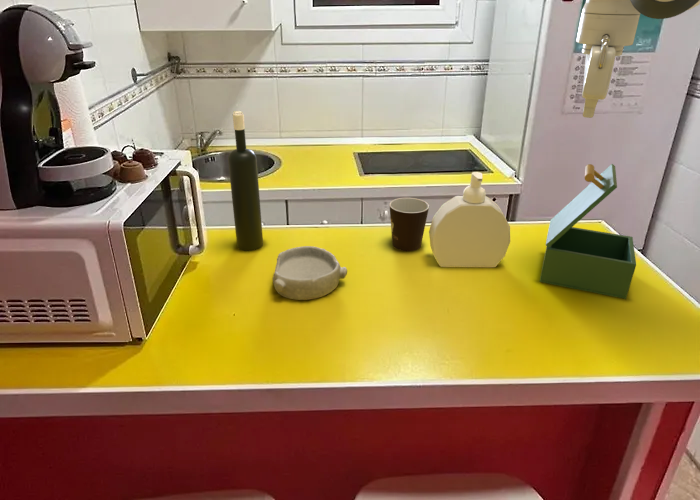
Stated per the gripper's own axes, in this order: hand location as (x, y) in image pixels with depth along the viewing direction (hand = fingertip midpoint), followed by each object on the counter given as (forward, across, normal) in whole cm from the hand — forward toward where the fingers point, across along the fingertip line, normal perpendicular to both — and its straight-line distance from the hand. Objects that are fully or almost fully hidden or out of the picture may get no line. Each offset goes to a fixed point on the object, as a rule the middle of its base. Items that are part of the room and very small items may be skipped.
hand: (587, 115), depth 93 cm
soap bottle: (+32, -4, +17) cm, 37 cm away
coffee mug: (+32, 0, +31) cm, 45 cm away
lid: (+17, 0, -3) cm, 17 cm away
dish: (+32, -25, +44) cm, 60 cm away
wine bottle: (+32, -16, +63) cm, 73 cm away
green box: (+32, 0, -6) cm, 33 cm away
